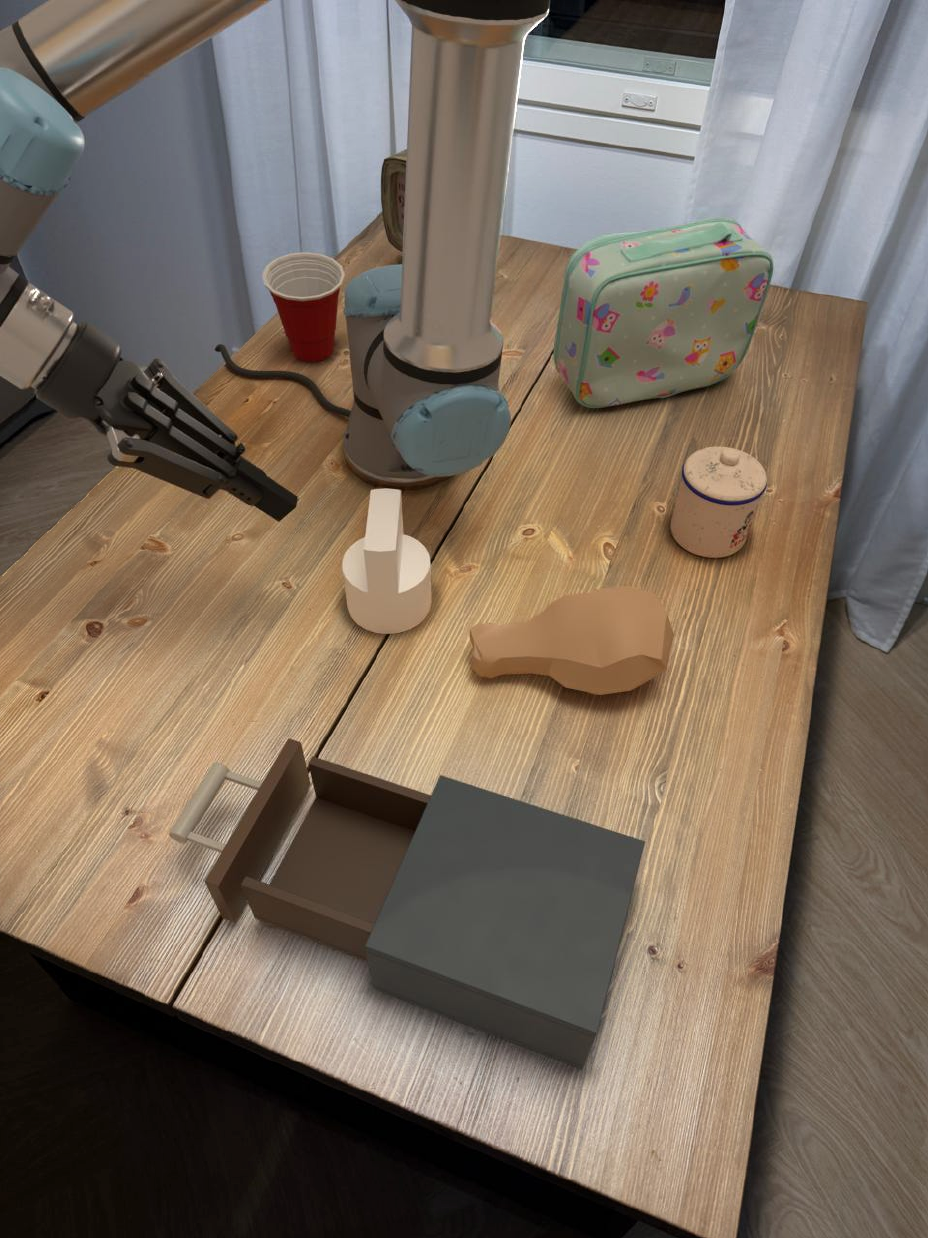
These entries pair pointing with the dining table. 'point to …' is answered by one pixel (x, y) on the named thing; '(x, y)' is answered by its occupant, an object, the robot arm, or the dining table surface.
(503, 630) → the squash
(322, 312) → the plastic cup
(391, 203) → the tabletop clock
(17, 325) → the robot arm
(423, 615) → the cylinder with rectangular tab
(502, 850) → the cabinet
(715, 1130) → the dining table surface
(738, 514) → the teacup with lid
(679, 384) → the lunch box
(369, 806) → the drawer
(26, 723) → the dining table surface
